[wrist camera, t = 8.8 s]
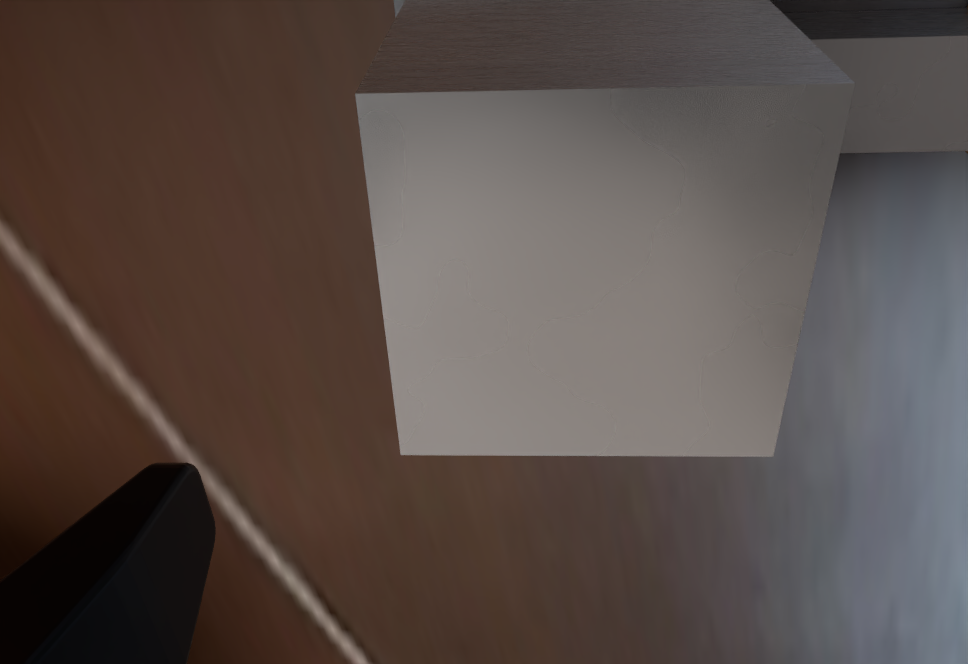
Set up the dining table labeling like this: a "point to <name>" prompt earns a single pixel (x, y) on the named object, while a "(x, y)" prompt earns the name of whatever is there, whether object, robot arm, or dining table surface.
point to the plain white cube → (596, 221)
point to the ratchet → (896, 75)
